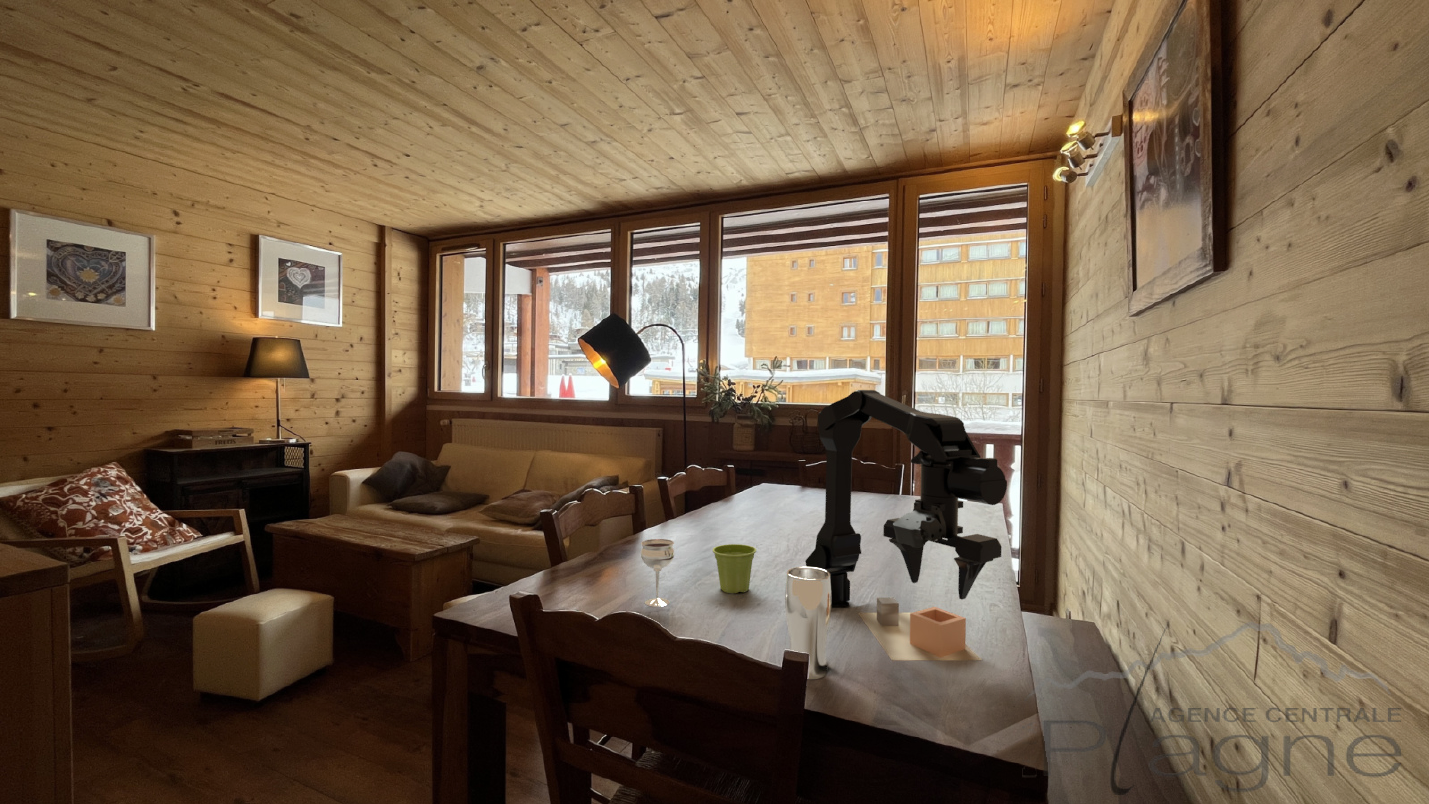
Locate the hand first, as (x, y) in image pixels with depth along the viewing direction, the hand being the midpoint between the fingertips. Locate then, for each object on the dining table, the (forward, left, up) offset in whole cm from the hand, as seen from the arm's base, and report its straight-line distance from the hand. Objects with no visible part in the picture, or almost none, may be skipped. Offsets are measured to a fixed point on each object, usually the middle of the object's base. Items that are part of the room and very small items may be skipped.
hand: (937, 590), depth 98 cm
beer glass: (-22, -5, -11) cm, 25 cm away
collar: (0, 0, -9) cm, 9 cm away
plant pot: (-31, +33, -11) cm, 46 cm away
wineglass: (-47, +25, -11) cm, 54 cm away
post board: (-2, +5, -11) cm, 12 cm away
